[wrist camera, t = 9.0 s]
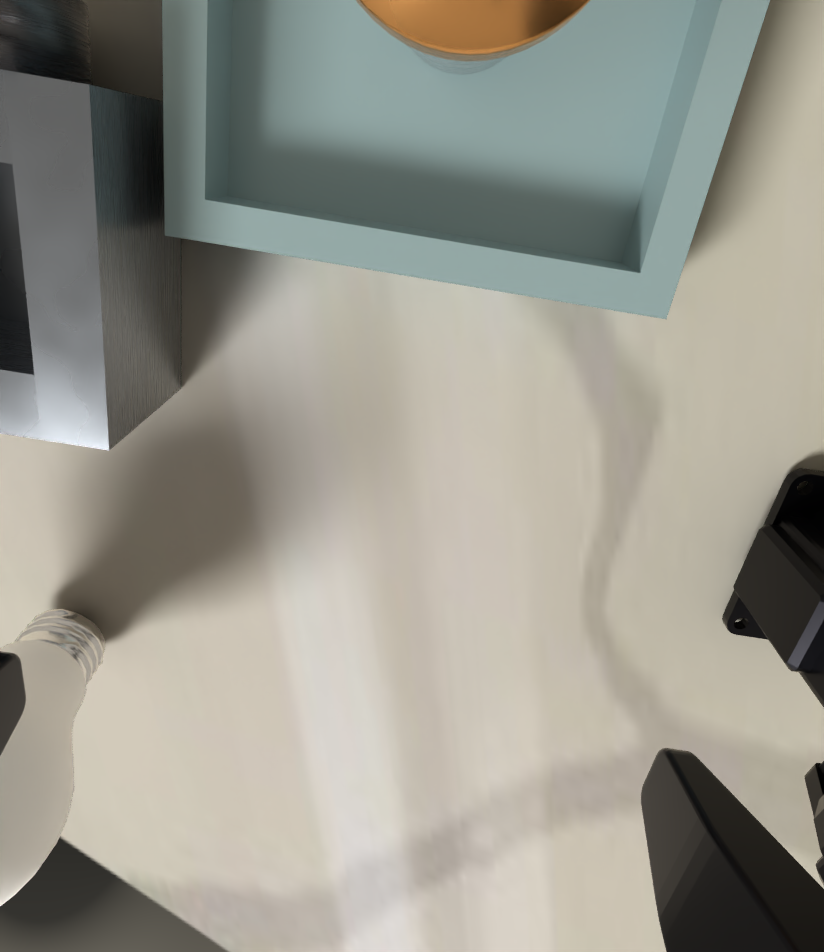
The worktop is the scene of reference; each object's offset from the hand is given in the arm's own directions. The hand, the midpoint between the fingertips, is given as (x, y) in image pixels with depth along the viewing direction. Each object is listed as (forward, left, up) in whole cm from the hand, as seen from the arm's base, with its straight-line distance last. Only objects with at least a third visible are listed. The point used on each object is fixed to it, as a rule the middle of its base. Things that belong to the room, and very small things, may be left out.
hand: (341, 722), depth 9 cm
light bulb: (+11, +11, -13) cm, 20 cm away
